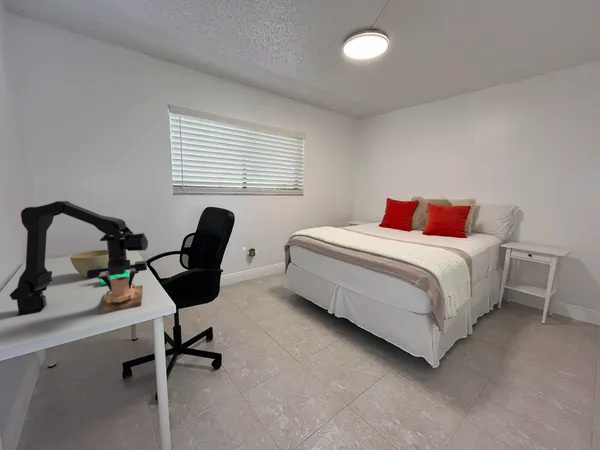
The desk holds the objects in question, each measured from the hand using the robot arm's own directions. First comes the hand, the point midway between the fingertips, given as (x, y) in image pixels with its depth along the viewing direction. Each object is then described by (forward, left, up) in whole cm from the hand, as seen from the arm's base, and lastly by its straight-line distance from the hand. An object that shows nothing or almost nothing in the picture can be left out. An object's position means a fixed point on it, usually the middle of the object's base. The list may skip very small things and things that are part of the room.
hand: (121, 289), depth 99 cm
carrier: (0, +5, -6) cm, 8 cm away
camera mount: (-5, +32, -6) cm, 33 cm away
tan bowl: (-16, +50, -6) cm, 53 cm away
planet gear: (0, 0, -3) cm, 3 cm away
